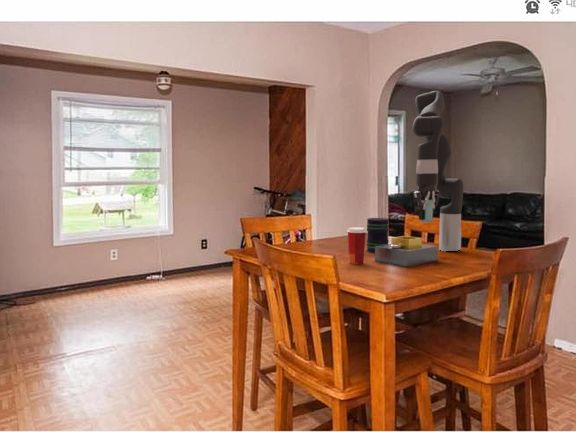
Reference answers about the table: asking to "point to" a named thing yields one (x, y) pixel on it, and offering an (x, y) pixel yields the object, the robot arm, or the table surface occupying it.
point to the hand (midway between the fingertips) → (426, 219)
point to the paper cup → (356, 245)
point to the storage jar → (377, 233)
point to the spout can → (428, 211)
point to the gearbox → (406, 252)
